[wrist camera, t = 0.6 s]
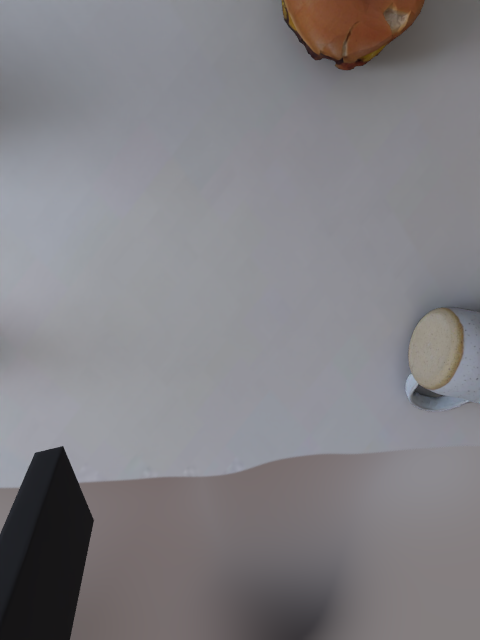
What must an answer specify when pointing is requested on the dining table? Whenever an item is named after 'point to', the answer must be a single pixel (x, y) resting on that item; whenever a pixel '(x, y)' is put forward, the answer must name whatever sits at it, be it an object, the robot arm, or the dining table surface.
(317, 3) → the burger
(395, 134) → the dining table surface
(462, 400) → the ceramic mug
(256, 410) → the dining table surface
